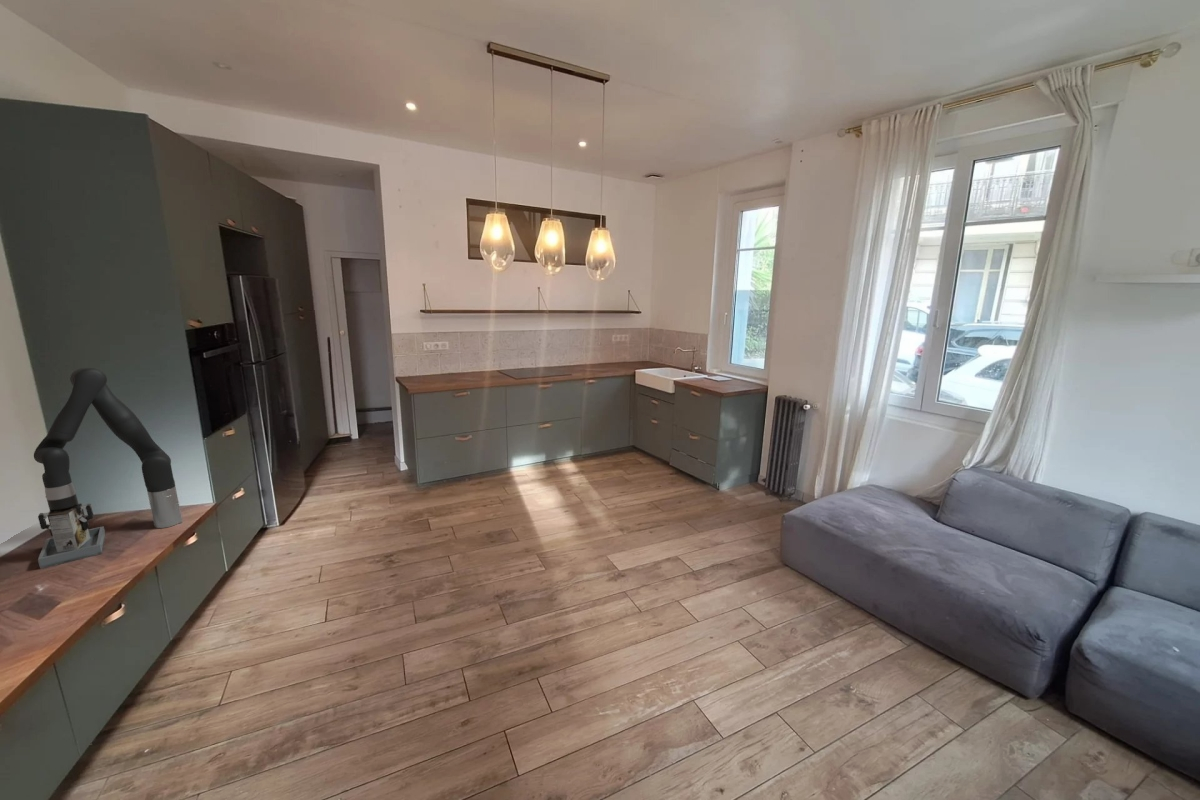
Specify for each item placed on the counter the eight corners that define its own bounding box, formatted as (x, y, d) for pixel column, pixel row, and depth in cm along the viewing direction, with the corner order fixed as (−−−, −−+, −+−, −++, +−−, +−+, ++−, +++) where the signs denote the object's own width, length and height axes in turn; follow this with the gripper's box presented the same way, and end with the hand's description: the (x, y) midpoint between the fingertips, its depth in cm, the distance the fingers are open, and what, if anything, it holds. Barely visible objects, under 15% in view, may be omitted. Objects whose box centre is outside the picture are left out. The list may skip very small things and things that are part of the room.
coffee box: (69, 541, 188) (60, 505, 185) (91, 538, 191) (82, 502, 187) (56, 552, 180) (45, 515, 177) (78, 549, 183) (69, 512, 179)
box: (105, 534, 199) (103, 526, 198) (101, 553, 185) (99, 544, 184) (48, 547, 188) (46, 538, 187) (40, 569, 174) (37, 559, 173)
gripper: (89, 487, 188) (97, 523, 192) (34, 497, 179) (45, 535, 182) (87, 493, 183) (96, 530, 187) (31, 503, 173) (41, 542, 177)
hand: (71, 533), depth 184 cm, fingers closed on coffee box, 7 cm apart
